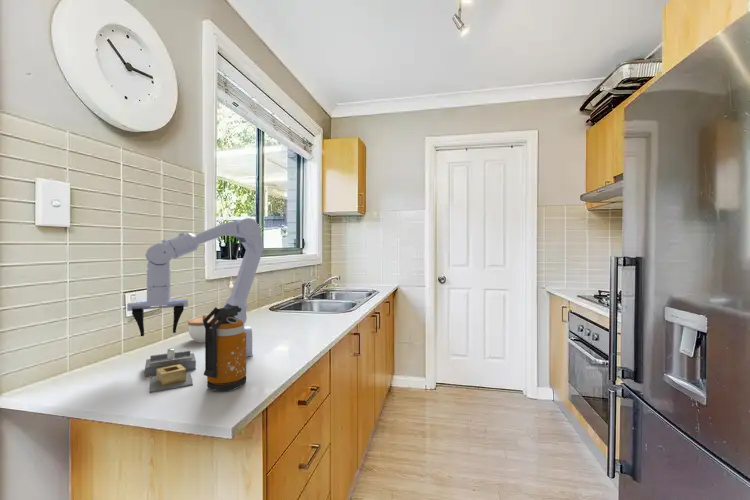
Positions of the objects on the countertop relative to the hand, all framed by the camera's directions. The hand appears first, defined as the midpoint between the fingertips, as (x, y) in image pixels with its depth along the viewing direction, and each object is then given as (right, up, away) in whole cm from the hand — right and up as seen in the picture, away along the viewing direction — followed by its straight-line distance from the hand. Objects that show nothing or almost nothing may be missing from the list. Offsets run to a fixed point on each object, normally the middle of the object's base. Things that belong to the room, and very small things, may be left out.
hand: (158, 333), depth 98 cm
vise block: (+4, -10, 0) cm, 11 cm away
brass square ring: (+10, -10, -10) cm, 17 cm away
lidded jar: (-2, -10, +30) cm, 32 cm away
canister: (+24, -10, -13) cm, 30 cm away
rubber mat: (+10, -10, -10) cm, 17 cm away
